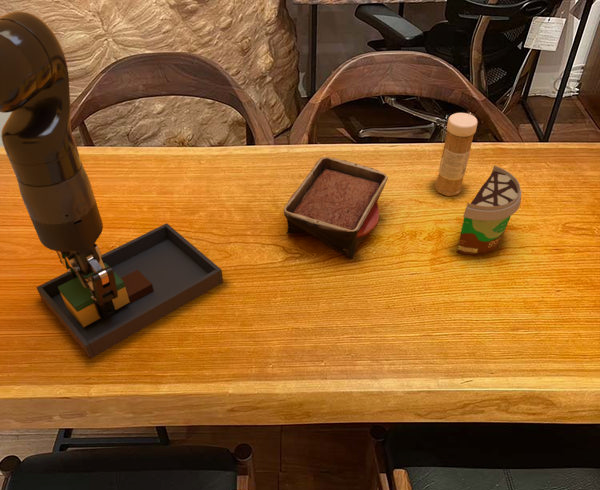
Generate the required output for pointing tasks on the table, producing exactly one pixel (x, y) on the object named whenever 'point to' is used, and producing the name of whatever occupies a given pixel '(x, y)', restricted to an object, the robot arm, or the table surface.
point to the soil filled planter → (337, 203)
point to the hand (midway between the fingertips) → (97, 303)
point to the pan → (163, 300)
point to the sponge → (88, 299)
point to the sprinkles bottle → (455, 153)
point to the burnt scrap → (137, 286)
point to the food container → (489, 214)
